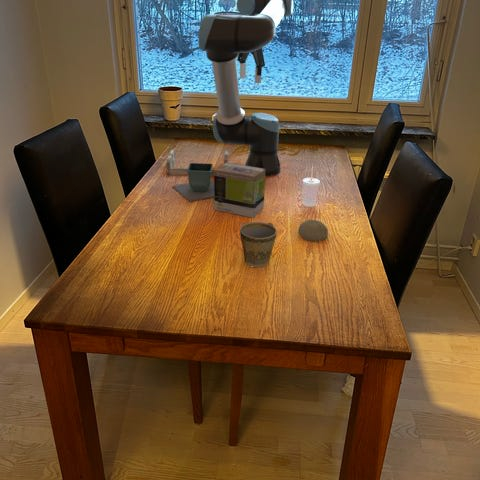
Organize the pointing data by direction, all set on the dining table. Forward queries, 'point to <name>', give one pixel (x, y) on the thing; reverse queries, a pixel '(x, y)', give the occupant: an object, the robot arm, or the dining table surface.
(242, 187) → the tea box
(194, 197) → the mat
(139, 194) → the dining table surface
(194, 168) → the flower pot
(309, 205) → the beverage cup
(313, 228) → the sea urchin shell
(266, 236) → the ceramic cup
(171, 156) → the holder
